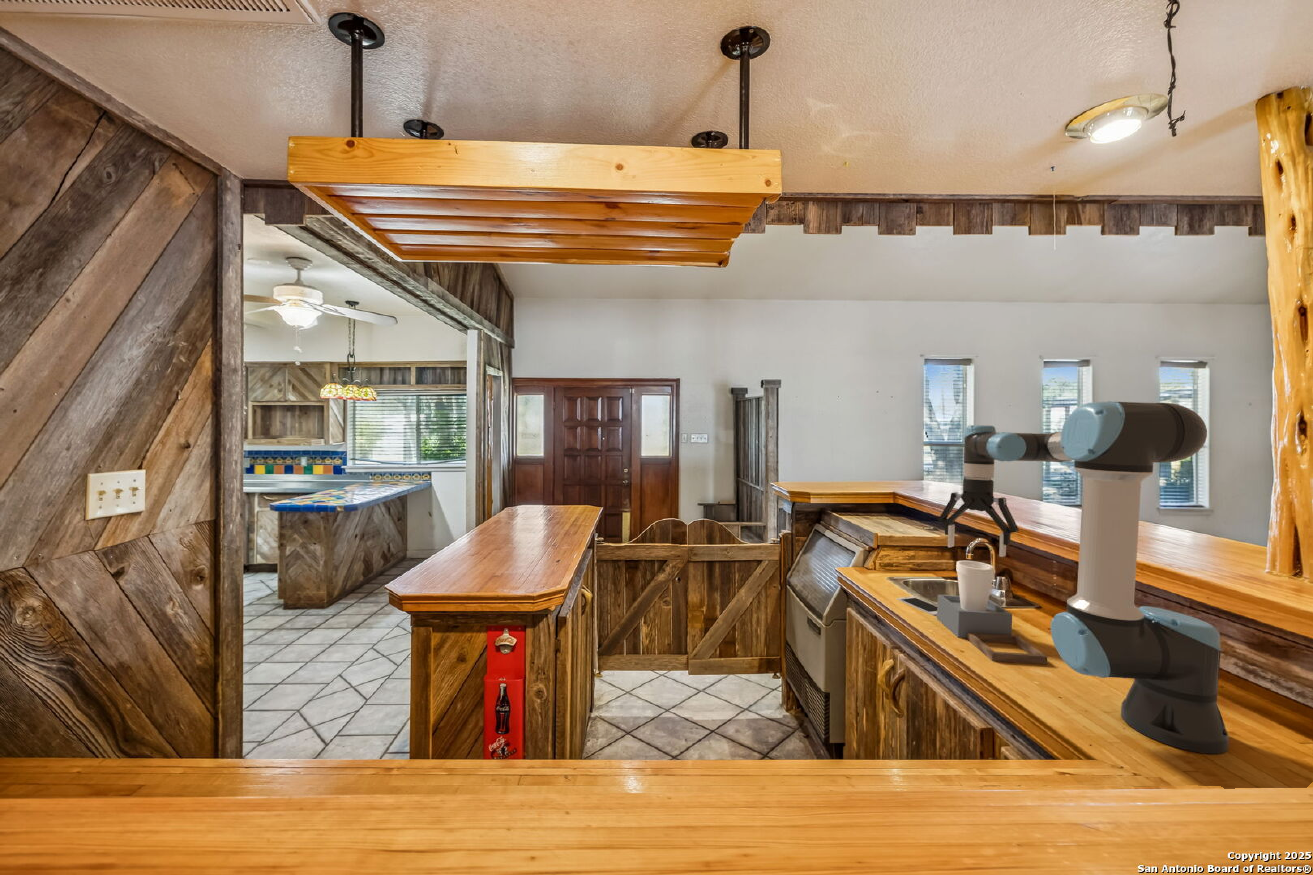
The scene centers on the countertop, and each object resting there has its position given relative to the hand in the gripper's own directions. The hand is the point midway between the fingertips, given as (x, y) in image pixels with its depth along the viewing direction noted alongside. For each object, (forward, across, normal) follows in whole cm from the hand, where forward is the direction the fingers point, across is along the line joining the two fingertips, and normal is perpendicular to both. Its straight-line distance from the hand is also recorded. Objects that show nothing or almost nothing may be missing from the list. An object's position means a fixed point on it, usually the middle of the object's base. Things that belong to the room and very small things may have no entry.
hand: (975, 551), depth 152 cm
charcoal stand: (+23, 0, 0) cm, 23 cm away
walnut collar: (+23, -11, +9) cm, 27 cm away
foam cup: (+17, 0, 0) cm, 17 cm away
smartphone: (+24, +18, -8) cm, 31 cm away
